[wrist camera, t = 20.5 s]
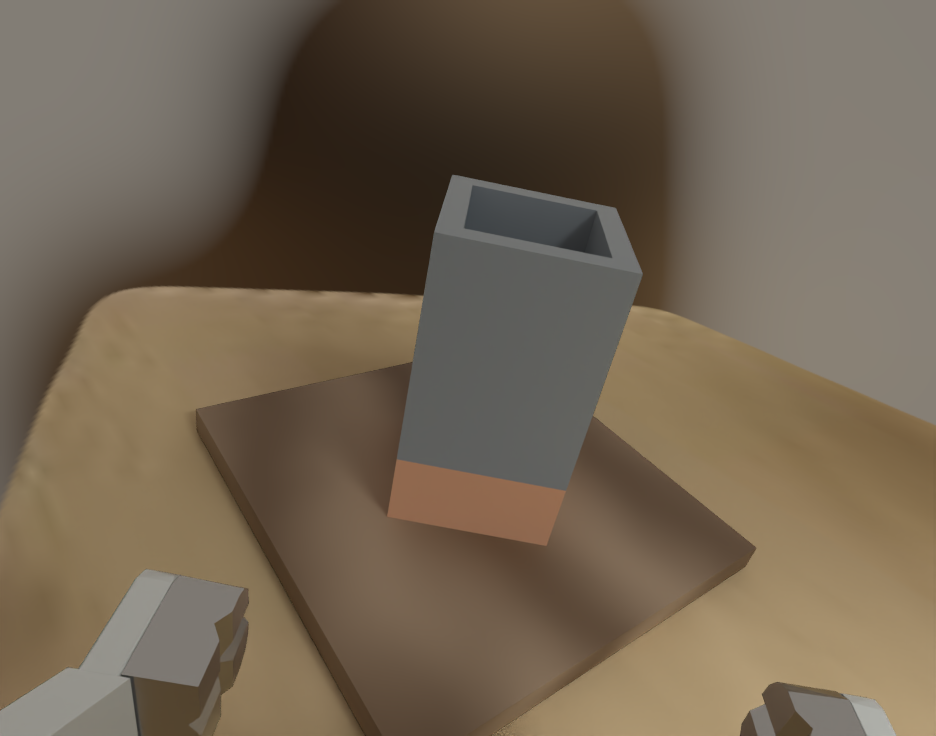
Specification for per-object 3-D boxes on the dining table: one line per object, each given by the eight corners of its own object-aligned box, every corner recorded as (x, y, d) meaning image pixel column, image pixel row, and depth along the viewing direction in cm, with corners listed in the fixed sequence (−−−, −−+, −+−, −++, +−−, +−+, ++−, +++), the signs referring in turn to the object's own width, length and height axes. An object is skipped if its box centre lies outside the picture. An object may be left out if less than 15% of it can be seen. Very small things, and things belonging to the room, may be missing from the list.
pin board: (498, 359, 34) (530, 230, 30) (745, 566, 24) (835, 416, 21) (196, 430, 25) (189, 261, 21) (399, 795, 16) (448, 607, 12)
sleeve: (541, 445, 26) (615, 208, 21) (546, 545, 22) (642, 274, 17) (410, 420, 26) (452, 174, 21) (387, 516, 22) (434, 232, 16)
